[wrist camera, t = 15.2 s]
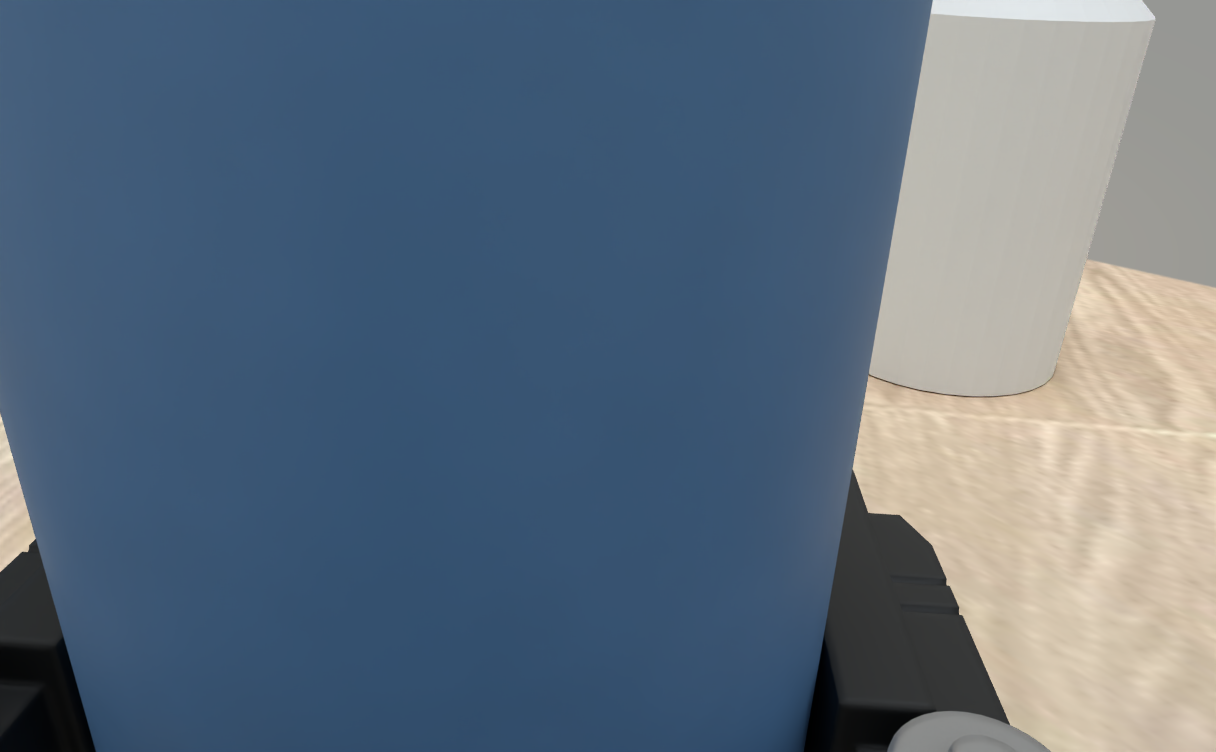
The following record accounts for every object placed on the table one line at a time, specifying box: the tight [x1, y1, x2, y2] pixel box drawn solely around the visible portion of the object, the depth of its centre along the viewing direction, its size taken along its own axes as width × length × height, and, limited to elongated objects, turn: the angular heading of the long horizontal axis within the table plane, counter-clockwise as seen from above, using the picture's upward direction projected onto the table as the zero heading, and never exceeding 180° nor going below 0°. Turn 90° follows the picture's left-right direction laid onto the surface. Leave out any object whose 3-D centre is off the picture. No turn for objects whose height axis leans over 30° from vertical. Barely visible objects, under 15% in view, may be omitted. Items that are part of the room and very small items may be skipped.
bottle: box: [869, 0, 1155, 396], centre depth 42 cm, size 12×12×25 cm
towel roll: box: [0, 0, 933, 752], centre depth 8 cm, size 6×6×13 cm
